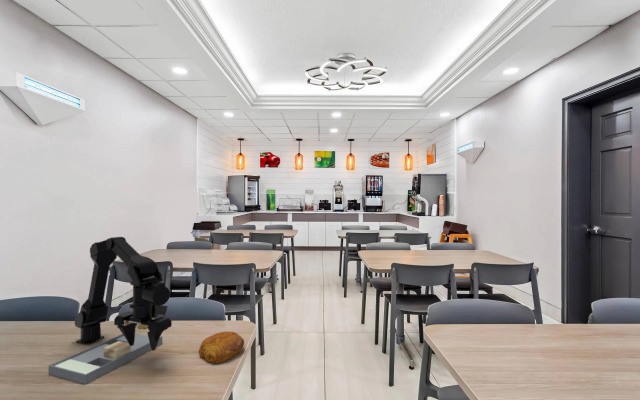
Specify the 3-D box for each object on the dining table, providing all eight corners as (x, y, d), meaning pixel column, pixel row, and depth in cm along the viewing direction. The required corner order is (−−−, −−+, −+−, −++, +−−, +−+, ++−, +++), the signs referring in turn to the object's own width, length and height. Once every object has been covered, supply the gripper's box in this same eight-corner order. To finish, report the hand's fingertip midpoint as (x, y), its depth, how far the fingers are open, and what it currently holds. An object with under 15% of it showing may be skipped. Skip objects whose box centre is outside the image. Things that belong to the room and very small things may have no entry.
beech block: (103, 357, 107) (103, 347, 107) (118, 349, 112) (118, 341, 112) (115, 359, 105) (115, 350, 105) (130, 352, 110) (130, 343, 110)
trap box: (48, 374, 100) (48, 365, 100) (130, 337, 127) (130, 330, 127) (85, 384, 95) (85, 375, 95) (162, 343, 121) (162, 336, 121)
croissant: (250, 355, 118) (253, 332, 119) (220, 368, 104) (223, 342, 105) (219, 345, 124) (222, 324, 125) (187, 357, 110) (191, 333, 111)
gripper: (184, 295, 110) (183, 342, 110) (142, 290, 116) (141, 334, 116) (157, 306, 99) (157, 357, 100) (113, 299, 106) (112, 347, 106)
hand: (142, 347), depth 106 cm, fingers open, 9 cm apart
